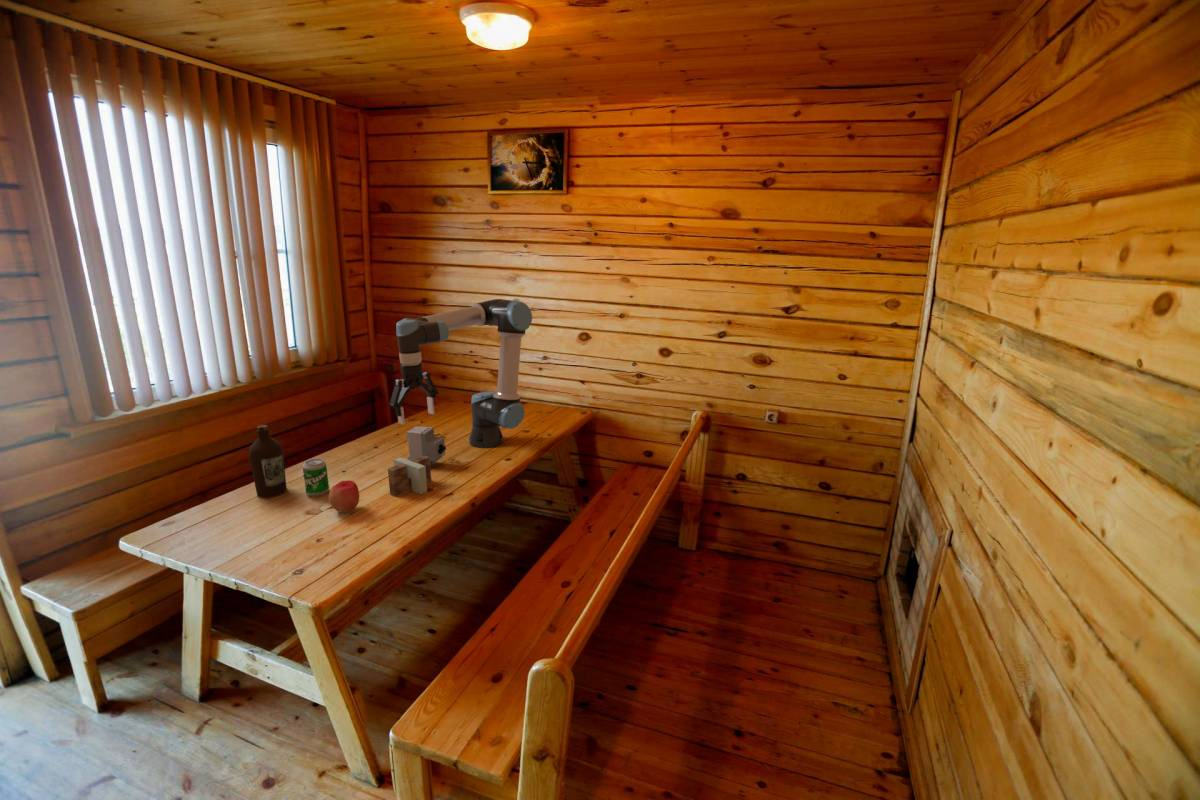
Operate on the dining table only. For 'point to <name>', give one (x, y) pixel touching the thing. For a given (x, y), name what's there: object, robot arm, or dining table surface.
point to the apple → (344, 496)
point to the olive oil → (267, 464)
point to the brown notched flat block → (405, 476)
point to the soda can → (315, 477)
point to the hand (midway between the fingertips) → (416, 418)
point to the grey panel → (414, 474)
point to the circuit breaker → (425, 444)
